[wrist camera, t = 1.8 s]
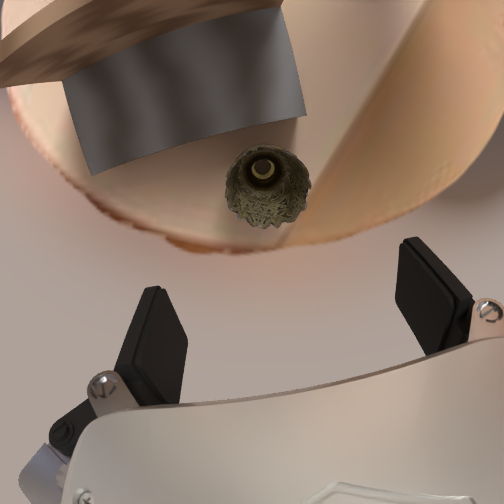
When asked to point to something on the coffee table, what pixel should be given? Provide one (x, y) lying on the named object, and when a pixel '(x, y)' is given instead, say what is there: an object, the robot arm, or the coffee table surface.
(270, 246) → the coffee table surface
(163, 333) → the robot arm
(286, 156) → the cup
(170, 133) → the board
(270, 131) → the coffee table surface
